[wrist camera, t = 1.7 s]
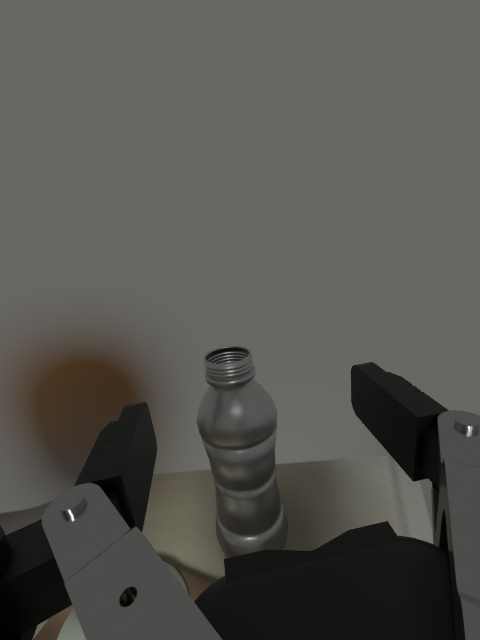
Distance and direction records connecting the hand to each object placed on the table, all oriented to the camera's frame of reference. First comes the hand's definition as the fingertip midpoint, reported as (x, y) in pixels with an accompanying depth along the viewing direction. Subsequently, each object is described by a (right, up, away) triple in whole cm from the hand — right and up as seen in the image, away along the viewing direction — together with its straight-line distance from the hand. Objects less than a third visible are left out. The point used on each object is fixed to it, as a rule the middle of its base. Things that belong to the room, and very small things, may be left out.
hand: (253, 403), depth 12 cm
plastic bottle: (+1, -19, +17) cm, 25 cm away
